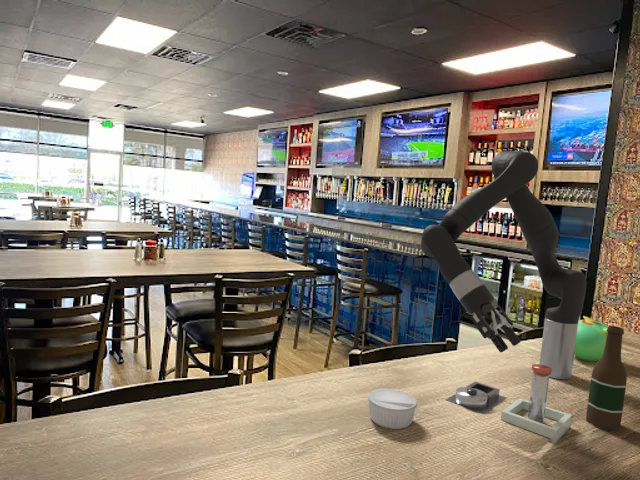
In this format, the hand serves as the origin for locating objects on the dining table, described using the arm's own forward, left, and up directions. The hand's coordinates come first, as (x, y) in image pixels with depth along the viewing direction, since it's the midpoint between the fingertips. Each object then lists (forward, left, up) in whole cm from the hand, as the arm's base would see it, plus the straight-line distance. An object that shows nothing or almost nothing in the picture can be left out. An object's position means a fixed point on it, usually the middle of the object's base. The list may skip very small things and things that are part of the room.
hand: (511, 347), depth 117 cm
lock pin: (0, +7, -16) cm, 18 cm away
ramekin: (+25, -16, -17) cm, 35 cm away
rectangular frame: (0, +8, -17) cm, 18 cm away
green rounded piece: (-71, +3, -17) cm, 73 cm away
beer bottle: (-15, +19, -17) cm, 29 cm away
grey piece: (-1, -7, -17) cm, 18 cm away
